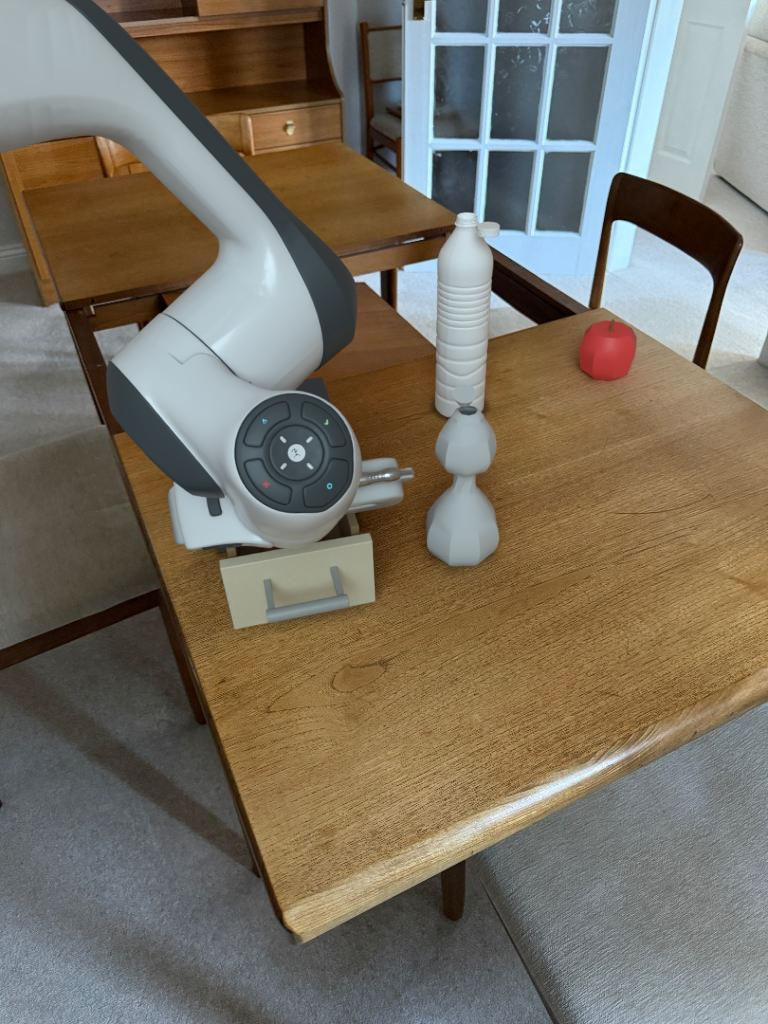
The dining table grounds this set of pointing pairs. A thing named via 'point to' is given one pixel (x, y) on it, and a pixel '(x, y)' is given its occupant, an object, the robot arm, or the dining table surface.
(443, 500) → the gourd bottle
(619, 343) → the apple
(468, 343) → the water bottle
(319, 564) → the drawer
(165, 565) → the dining table surface
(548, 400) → the dining table surface
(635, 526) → the dining table surface
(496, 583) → the dining table surface
